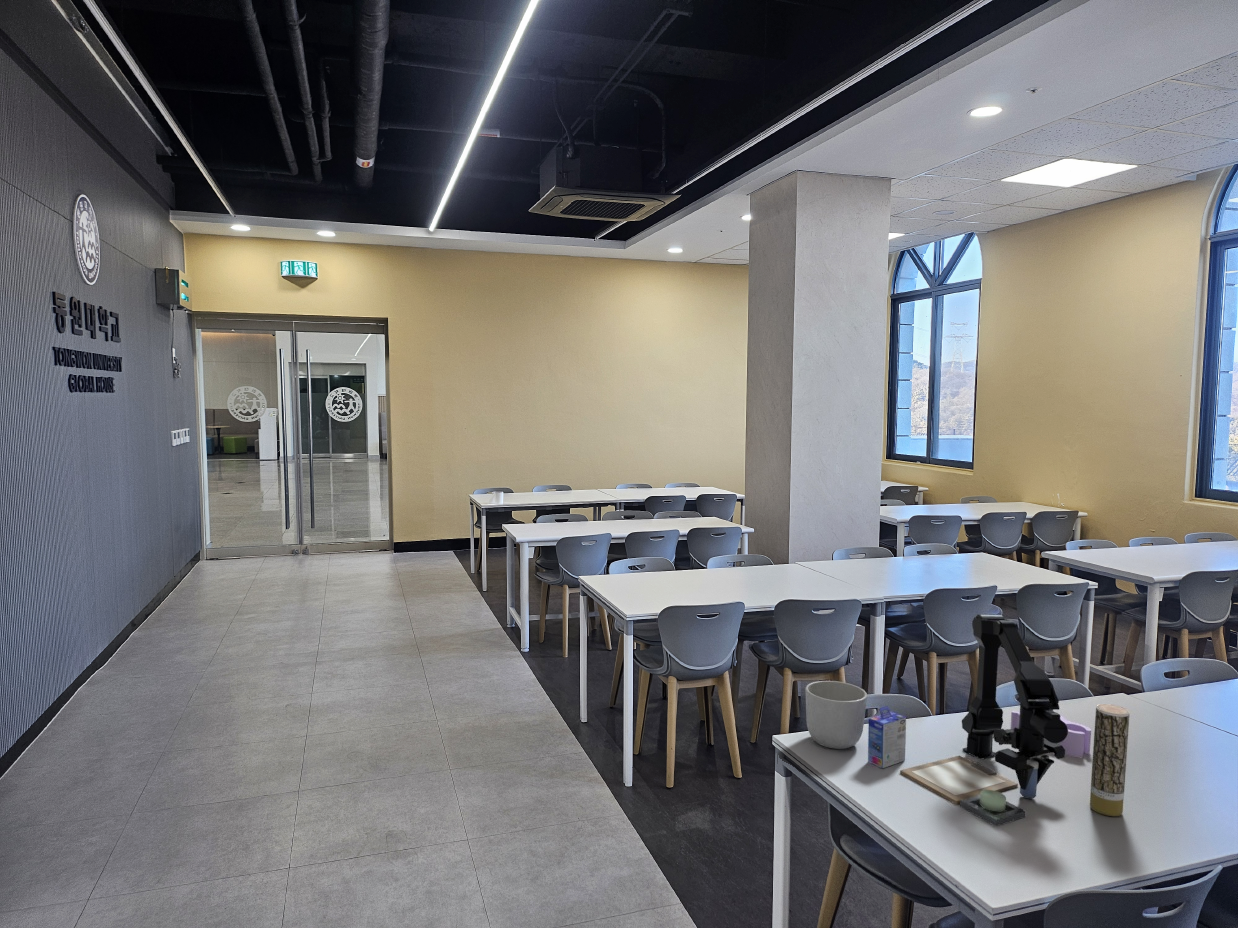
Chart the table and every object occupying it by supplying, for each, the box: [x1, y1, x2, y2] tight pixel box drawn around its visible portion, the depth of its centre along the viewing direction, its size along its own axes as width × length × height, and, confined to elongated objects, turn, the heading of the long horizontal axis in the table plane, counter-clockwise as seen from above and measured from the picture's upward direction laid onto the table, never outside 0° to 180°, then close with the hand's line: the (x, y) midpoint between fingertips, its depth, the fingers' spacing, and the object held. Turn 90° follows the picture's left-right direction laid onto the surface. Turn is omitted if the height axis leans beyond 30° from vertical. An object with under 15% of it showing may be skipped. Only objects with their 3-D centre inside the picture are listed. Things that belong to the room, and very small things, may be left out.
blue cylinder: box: [1019, 759, 1039, 800], centre depth 196 cm, size 4×4×9 cm
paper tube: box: [1089, 703, 1130, 817], centre depth 190 cm, size 7×7×25 cm
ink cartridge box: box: [867, 705, 907, 769], centre depth 215 cm, size 10×6×14 cm, turn 124°
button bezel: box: [959, 795, 1026, 827], centre depth 189 cm, size 10×10×2 cm
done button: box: [979, 790, 1007, 813], centre depth 189 cm, size 6×6×2 cm
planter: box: [805, 680, 868, 750], centre depth 226 cm, size 17×17×15 cm
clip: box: [1010, 710, 1092, 758], centre depth 230 cm, size 20×12×7 cm, turn 34°
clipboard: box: [899, 755, 1019, 805], centre depth 205 cm, size 22×18×1 cm
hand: (1028, 787), depth 196 cm, fingers closed on blue cylinder, 4 cm apart
